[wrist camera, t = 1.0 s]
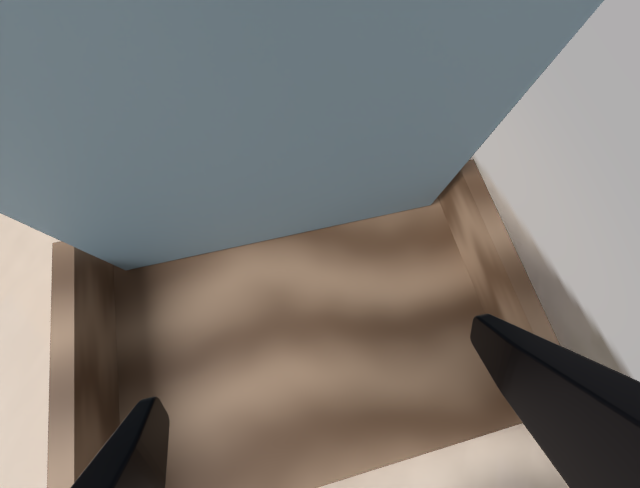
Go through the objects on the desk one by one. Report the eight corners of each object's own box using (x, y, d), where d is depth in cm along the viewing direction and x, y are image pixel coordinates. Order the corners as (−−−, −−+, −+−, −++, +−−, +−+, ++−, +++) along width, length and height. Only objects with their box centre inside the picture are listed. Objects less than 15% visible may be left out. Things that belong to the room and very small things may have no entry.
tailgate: (430, 204, 25) (833, -273, 6) (125, 270, 22) (-965, -229, 3) (425, 191, 25) (789, -298, 6) (124, 254, 22) (-851, -278, 4)
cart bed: (534, 413, 21) (599, 430, 17) (112, 544, 18) (44, 612, 13) (443, 193, 26) (473, 159, 22) (103, 265, 23) (52, 243, 19)
